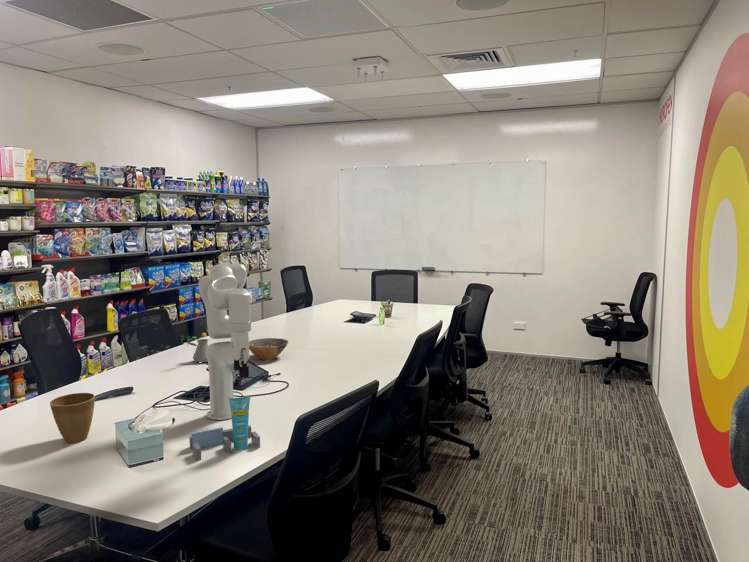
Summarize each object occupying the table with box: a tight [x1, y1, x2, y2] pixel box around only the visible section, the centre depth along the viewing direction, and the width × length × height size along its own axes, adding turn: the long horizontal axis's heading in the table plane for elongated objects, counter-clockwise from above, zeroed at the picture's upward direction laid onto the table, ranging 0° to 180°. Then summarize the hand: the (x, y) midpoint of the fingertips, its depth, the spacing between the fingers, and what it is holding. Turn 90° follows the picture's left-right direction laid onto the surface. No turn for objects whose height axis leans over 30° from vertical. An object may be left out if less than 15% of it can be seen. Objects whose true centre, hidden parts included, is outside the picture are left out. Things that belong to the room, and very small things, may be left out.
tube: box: [229, 395, 251, 451], centre depth 198 cm, size 7×5×19 cm, turn 113°
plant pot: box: [49, 392, 96, 444], centre depth 206 cm, size 15×15×16 cm
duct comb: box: [188, 424, 261, 461], centre depth 199 cm, size 13×22×6 cm, turn 119°
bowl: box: [249, 337, 289, 361], centre depth 327 cm, size 25×25×10 cm
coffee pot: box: [184, 338, 209, 363], centre depth 314 cm, size 21×12×15 cm, turn 164°
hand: (241, 373), depth 194 cm, fingers open, 9 cm apart
